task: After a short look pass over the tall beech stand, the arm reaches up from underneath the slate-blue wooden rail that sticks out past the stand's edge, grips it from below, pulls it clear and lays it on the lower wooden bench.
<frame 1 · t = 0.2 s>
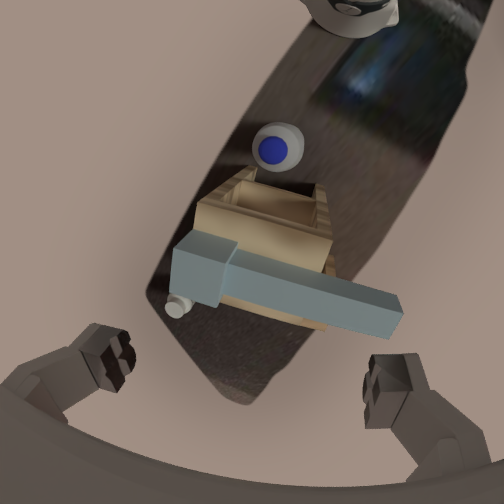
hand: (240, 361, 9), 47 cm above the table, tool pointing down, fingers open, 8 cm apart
bottle: (286, 141, 50), on the table
tall stand: (278, 203, 55), on the table
rail: (279, 276, 32), point 26 cm above the table, touching tall stand
bench: (282, 258, 59), on the table
pill bottle: (191, 285, 67), on the table
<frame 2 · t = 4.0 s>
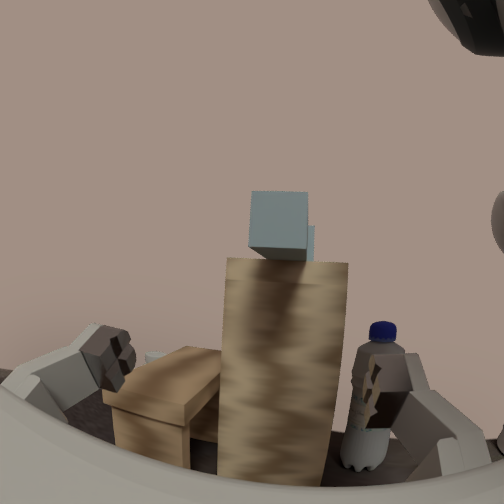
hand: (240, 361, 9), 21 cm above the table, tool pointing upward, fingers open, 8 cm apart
bottle: (360, 464, 30), on the table
tall stand: (273, 466, 31), on the table
rail: (289, 263, 31), point 26 cm above the table, touching tall stand
bench: (186, 465, 30), on the table
pill bottle: (156, 403, 49), on the table
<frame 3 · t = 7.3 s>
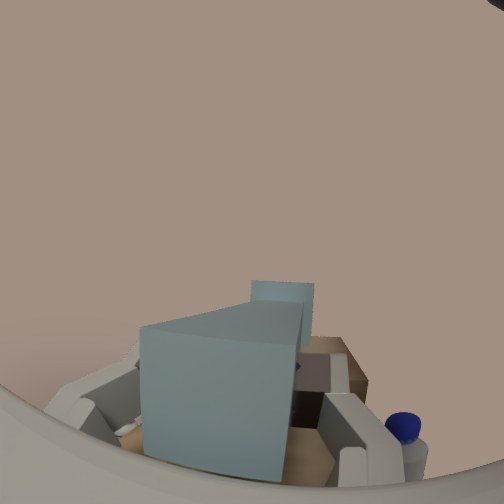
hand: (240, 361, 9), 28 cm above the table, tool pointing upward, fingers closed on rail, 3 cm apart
rail: (271, 358, 18), point 26 cm above the table, touching gripper, tall stand
pill bottle: (126, 460, 37), on the table
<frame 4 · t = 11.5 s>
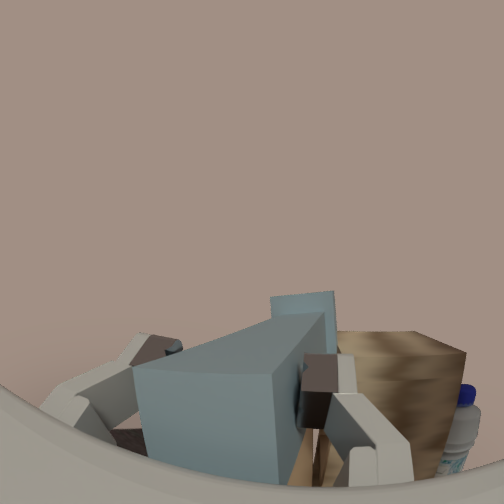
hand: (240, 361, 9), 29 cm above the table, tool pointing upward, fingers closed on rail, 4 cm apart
rail: (295, 372, 18), point 26 cm above the table, tilted 8°, touching gripper
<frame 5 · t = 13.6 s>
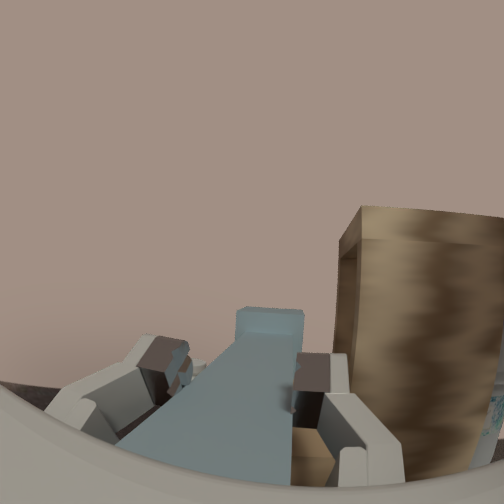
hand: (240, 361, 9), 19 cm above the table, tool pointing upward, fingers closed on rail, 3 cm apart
bottle: (460, 475, 19), on the table
tall stand: (370, 496, 20), on the table
rail: (258, 401, 16), point 14 cm above the table, touching bench, gripper
when the fingers open (19 cm above the table, at t = 13.8 s): rail stays where it is, resting on bench.
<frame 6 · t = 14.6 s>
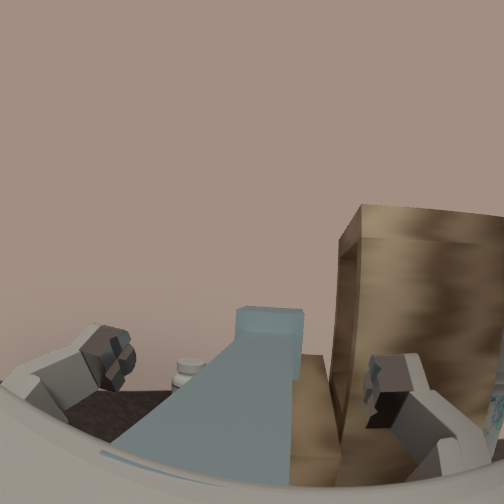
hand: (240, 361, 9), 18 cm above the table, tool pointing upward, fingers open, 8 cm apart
bottle: (460, 475, 19), on the table
tall stand: (370, 496, 20), on the table
rail: (258, 400, 16), point 14 cm above the table, touching bench
pill bottle: (190, 422, 38), on the table
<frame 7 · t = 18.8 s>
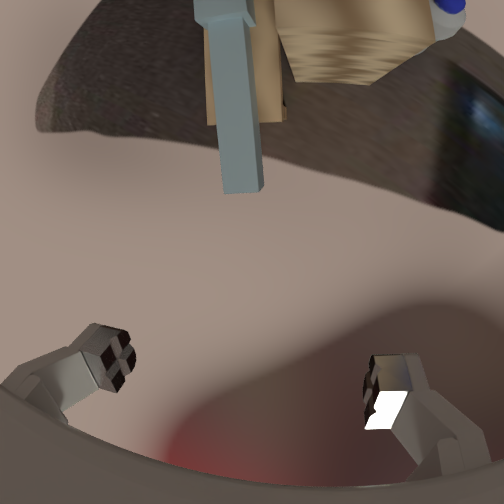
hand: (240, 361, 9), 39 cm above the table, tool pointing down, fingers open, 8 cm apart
bottle: (402, 40, 32), on the table
tall stand: (330, 40, 35), on the table
rail: (237, 69, 27), point 14 cm above the table, touching bench
bench: (261, 61, 38), on the table
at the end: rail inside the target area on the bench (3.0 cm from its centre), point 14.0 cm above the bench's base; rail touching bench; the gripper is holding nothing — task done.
